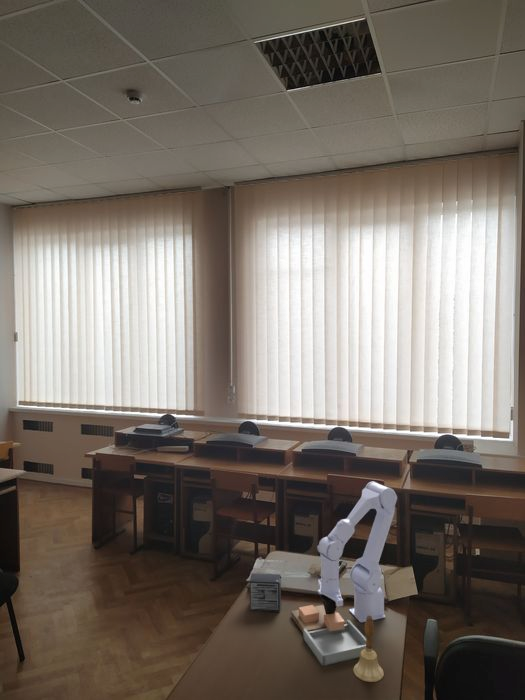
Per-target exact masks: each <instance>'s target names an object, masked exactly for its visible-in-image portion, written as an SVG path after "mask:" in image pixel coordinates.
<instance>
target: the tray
mask: <svg viewBox="0 0 525 700" xmlns="http://www.w3.org/2000/svg"><path fill="white" fill-rule="evenodd" d="M302 637H303V638H302V639H303V641H305V643H306V644H307V646H308V648H309V649H310V650H311V651H312V653H313V655H314V656H315V657H316V659H317V660H318V662H319V664H320V665H322V667H326V666H329V665H333V664H338V663H342V662H343V663H344V662H347V661H350V660H355V659H360V655H361V651H362V650H364V649H366V635H364V634H363V633H362V632H361V631H360V630H359V629H358V628H357V626H356V625H355V624H354V623H353V622H352V621H351V620H350V619H347V620H346V624H344V629H342V630H336V631H329V630H328V628H324V629H320V630H315V631H310V632H308V631H307V630H306V629H303V633H302Z"/></svg>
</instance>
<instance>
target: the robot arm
mask: <svg viewBox="0 0 525 700" xmlns="http://www.w3.org/2000/svg"><path fill="white" fill-rule="evenodd" d="M397 501H398V496H397V493H396V492H395V490H394V489H393V488H392V487H388V486H385V485H383V484H380V483H378V482H376V481H370V482H368V483H367V484H366V485H365V487H364V488H363V489H362V490H361V497H360V499H359V500H358V501H357V502H356V504H355V506H354V507H353V509H352V510H351V511H350V513H349V514H348V515H347V517H346V518H343V519H340V520H339V521H338V522H337V523H336V525H335V526H334V528H333V529H332V530H331V531H330V533H329V534H328V535H327V536H325V537H322V538H321V539H320V540H319V543H318V545H317V546H316V548H317V552H318V553H319V554H320V555H319V556H320V578H319V579H317V585H318V587H319V589H318V590H317V593H318V595H319V598H320V600H321V602H322V605H324V609H325V613H326V614H333V613H335V611H336V609H337V607H343V606H344V599H343V598H342V594H341V590H340V584H339V583H340V577H339V576H340V574H339V573H340V562H339V561H340V558H342V555H343V552H344V548H345V545H346V543H348V541H349V540H350V538H351V537H352V536H353V535H354V533H355V531H356V529H355V528H356V527H355V526H356V525H357V524H358V523H359V522H360V521H361V520H362V518H364V516H365V515H366V514H367V513H368V512H369V511H370V510H371V509H374V510H375V511H376V515H375V518H374V521H373V523H372V527H371V531H370V533H369V536H368V539H367V542H366V545H365V548H364V551H363V554H362V556H361V557H359V558H357V559H356V560H355V563H354V565H353V566H352V567H351V569H350V571H349V578H350V580H351V582H352V583H353V584H352V585H353V587H354V588H353V589H354V590H353V591H354V592H353V593H354V594H353V595H354V596H353V597H354V599H353V600H354V601H353V602H354V603H353V604H354V605H353V608H349V610H348V611H349V612H350V613H351V614H352V615H353V616H354V617H355V619H356V620H357V621H359V623H365V622H366V619H367V616H372V620H373V621H376V620H379V619H385V618H386V615H385V597H384V592H383V589H382V588H381V583H382V578H381V577H382V574H383V572H382V570H381V567H380V565H379V562H380V559H381V556H382V553H383V550H384V546H385V543H386V542H387V541H386V540H387V537H388V534H389V531H390V528H391V525H392V522H393V519H394V516H395V512H396V509H395V508H396V503H397Z"/></svg>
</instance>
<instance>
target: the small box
mask: <svg viewBox="0 0 525 700" xmlns="http://www.w3.org/2000/svg"><path fill="white" fill-rule="evenodd" d="M281 578H282V577H281V574H280V573H279V574H278V573H251V574H250V578H249V611H251V612H271V613H272V612H273V613H280V612H281V606H282V594H281V593H282V590H281V589H282V588H281V587H282V585H281V584H282V582H281Z"/></svg>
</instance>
